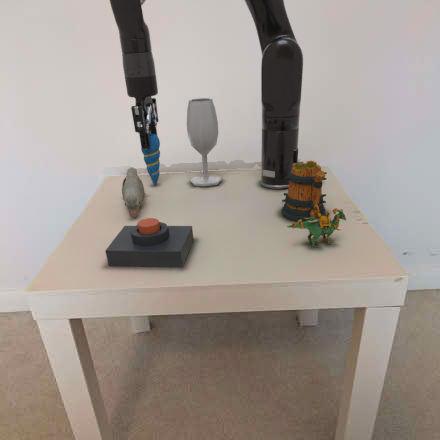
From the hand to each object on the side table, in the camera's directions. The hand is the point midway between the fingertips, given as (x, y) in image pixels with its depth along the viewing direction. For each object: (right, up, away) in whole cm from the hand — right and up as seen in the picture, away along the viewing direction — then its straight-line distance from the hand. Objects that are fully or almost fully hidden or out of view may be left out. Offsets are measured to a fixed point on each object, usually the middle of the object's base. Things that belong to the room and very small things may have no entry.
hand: (150, 144), depth 105 cm
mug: (+37, -22, -17) cm, 47 cm away
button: (+5, -28, -31) cm, 42 cm away
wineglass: (+15, -8, +6) cm, 18 cm away
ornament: (+1, -9, +6) cm, 11 cm away
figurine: (+37, -30, -29) cm, 56 cm away
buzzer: (+6, -31, -28) cm, 43 cm away
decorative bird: (-2, -18, -7) cm, 20 cm away
